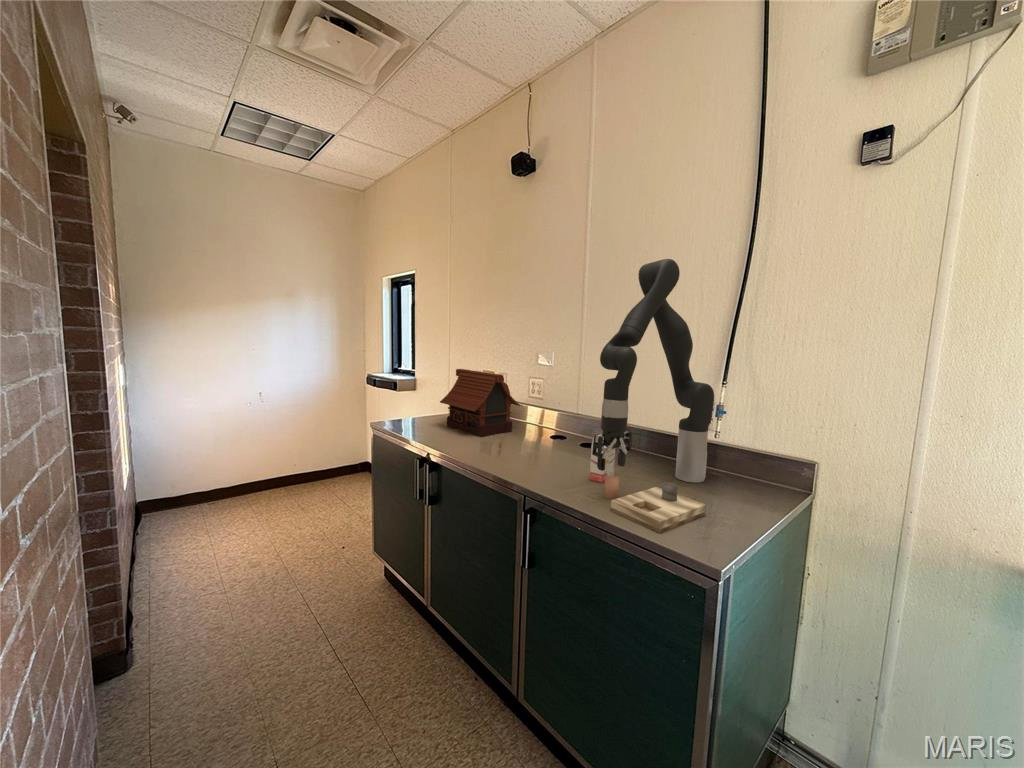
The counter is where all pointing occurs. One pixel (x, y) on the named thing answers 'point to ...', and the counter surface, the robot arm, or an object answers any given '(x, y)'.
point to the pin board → (658, 508)
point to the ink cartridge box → (609, 465)
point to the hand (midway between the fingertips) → (611, 467)
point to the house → (479, 404)
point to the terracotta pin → (611, 487)
